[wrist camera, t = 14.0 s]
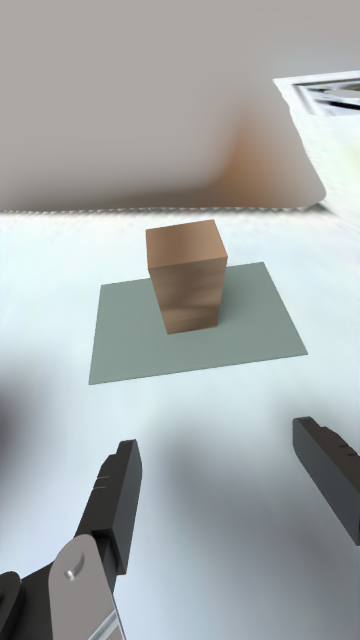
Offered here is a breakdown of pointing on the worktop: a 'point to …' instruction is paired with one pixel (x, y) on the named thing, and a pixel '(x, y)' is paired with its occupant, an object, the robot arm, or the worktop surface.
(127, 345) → the mat
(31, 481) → the worktop surface
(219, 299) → the walnut block
